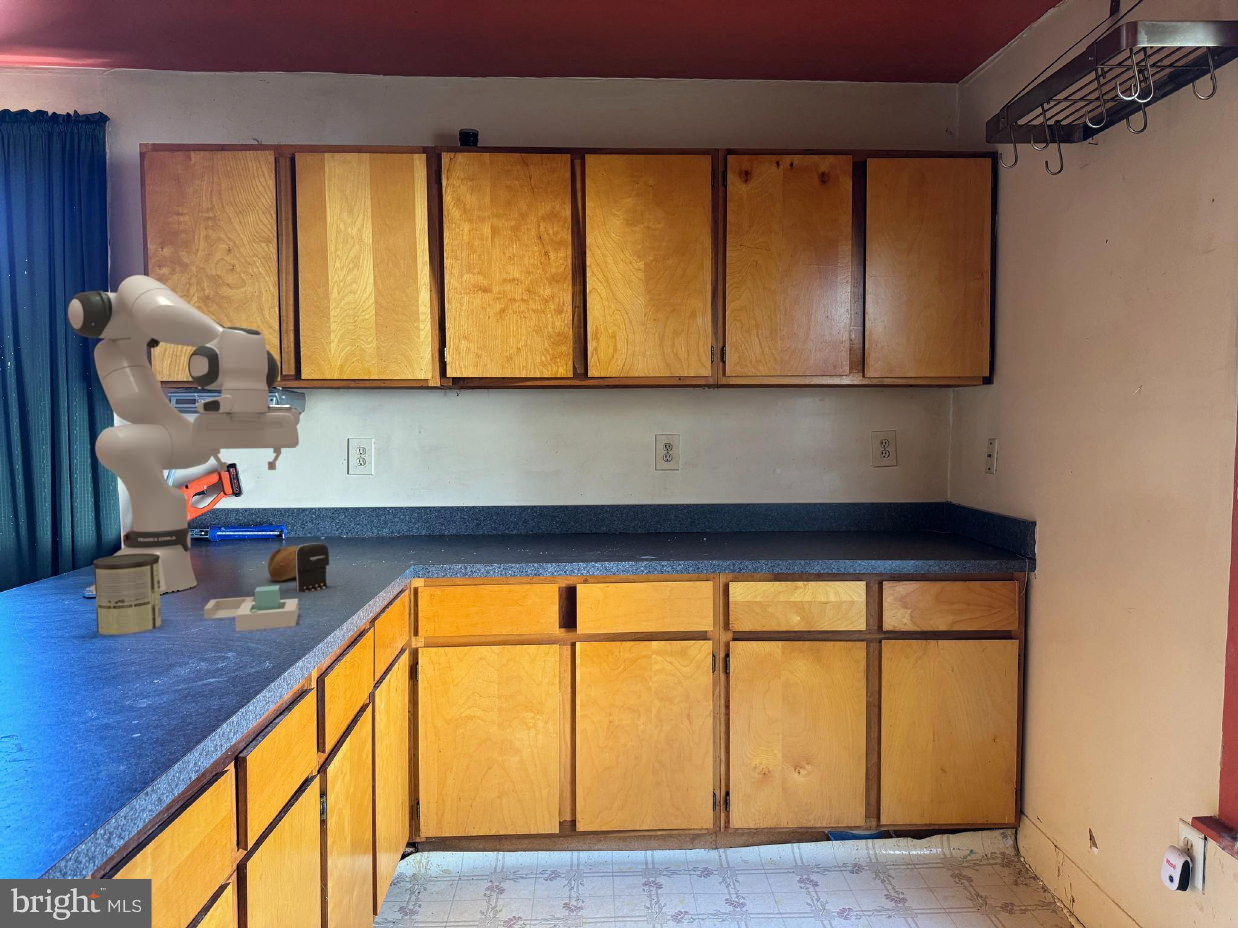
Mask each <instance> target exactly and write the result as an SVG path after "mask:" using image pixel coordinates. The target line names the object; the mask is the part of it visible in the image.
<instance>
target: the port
mask: <svg viewBox="0 0 1238 928" xmlns="http://www.w3.org/2000/svg"><path fill="white" fill-rule="evenodd" d="M235 616H236V617H235V632H244V631H245V632H246V631H247V632H248V631H257V630H268V629H270V630H271V629H280V628H281V629H282V628H291V627H292V628H293V627H296V625H297V621H298V617H299V598H291V599H290V598H289V599H280V609H274V610H261V611H258V610H257V609H255V601H254V602H247V603H242V605H241V606H240V608H239V610H238V611H237V613H236V615H235Z"/></svg>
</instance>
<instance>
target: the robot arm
mask: <svg viewBox="0 0 1238 928" xmlns="http://www.w3.org/2000/svg"><path fill="white" fill-rule="evenodd" d="M67 318H68V322H69V325H70V327H71V328H72V329H73V330H74V332H75V333H76V334H77V335H79V336H83V337H87V338H91V339H97V338H98V339H102V340H101V341H100V342H98V343H97V345H96V346H95V348H94V352H93V356H94V363H95V367H96V371H97V372H96V373H97V374H98V378H99V381H100V383H101V385H102V388H103V390H104V393H105V395H106V398H107V400H108V403H109V405H110V407H111V409H112V411H113V413H114V414H115V415H116V416H118V417H119V418H120V419H122V420H123V421H126V422H127V423H128V424H121V425H117V426H111V427H107V428H104V429H103V430H102V431H101V433H100V434H98V437H97V439H96V441H95V447H94V448H95V455H96V457H97V459H98V461H99V462H100V464H101V465H102V466H103V467H105V468H106V469H107V470H109V471H111V472H112V473H113V474H115V476H117V477H118V479H120V481H121V482H122V483H123V485H124V487H125V488H126V491H127V493H128V496H129V499H130V506H131V507H130V508H131V514H132V529H130V530H127V531H126V532H125V534H123V535H122V539H121V540H122V543H123V546H124V547H122V548H121V549H120V550H118V551H117V552H116V553H114V554H113V555H112V556H116V555H124V554H140V553H147V554H148V553H149V554H157V555H159V556H160V559H159V576H160V594H161V595H163V593H165V592H168V593H173V592H172V591H174V592H178V591H177V590H179V591H184V590H187V589H190V587H191V588H193V587H195V586H197V585H198V582H197V580H196V576H195V574H194V570H193V566H192V561H191V556H190V555H191V554H190V553H191V552H190V550H191V547H192V546H191V545H192V542H191V541H192V540H191V530H190V527H189V526H188V506H187V505H188V503H187V497H186V495H185V493H184V492H183V491H182V490H180V489H179V488H177V487H174V486H172V485H170V483H168V481H167V479H166V477H165V475H164V471H170V470H171V471H172V470H187V469H191V468H195V467H199V466H202V465H205V464H207V463H208V462H209V461H210V460H211V458H213V459H214V461H215V462H216V463H217V472H226V471H228V468H227V465H228V463H227V462H226V461H224V462H223V460H221V457H220V456H219V455H220V454H221V450H223V449H224V450H230V449H231V450H233V449H235V450H236V449H247V450H248V449H272V451H273V454H275V455H274V458H272V460H271V461H267V470H268V471H276V470H277V461H278V460H279V457H280V456H281V454H282V449H295V448H297V447H298V446H299V444H300V440H299V431H298V427H297V426H299V424H300V421H301V419H300V418H301V417H300V414H301V413H300V411H299V410H298V408H296V407H295V406H292V405H290V404H285V405H282V404H281V405H279V404H270V403H269V401H270V400H269V391H270V390H271V389H272V388H273V387H274V386H275V384H276V383H277V382H278V379H279V377H280V367H279V364H278V361H277V359H276V357H275V356H274V355H273V354H272V353H271V352H270V350H268V349H267V345H266V340H265V337H264V335H263V333H262V332H260V331H259V330H256V329H253V328H245V327H241V326H240V327H237V326H224V324H221V323H220V322H218V321H216V320H215V319H213V318H211V317H209V316H208V315H206V314H205V313H203V312H201V311H199V310H198V309H197V308H195V307H194V306H192V305H191V304H190V303H188V302H187V301H185V300H184V299H183V298H182V297H180V296H179V295H178V294H177V293H175V292H174V290H172V289H170V288H169V287H168V286H167V285H165V284H163V283H162V282H161V281H158V280H156V279H155V278H152V277H151V276H148V275H143V274H139V275H138V274H136V275H135V274H134V275H132V276H129V277H126V279H124V280H123V281H122V282H121V283H120V284H119V286H118V289H117V292H109V291H108V292H104V291H103V290H95V291H84V292H79V293H77V294H75V295H74V296H73V297H71V299H70V301H69V302H68V306H67ZM160 343H165V344H169V345H170V344H171V345H177V346H182V347H183V346H184V347H191V348H195V349H194V350H193V351H191V354H190V355H189V358H188V360H187V361H188V363H187V365H188V367H187V368H188V374H189V376H190V378H191V380H192V381H193V382H194V384H195V385H196V386H198V387H199V388H201V389H206V390H213V391H215V390H217V391H221V396H218V397H213V398H210V399H207V400H204V401H200V402H198V403H197V405H196V409H197V412H198V413H199V414H197V415H196V416H195V417H194V419H193V421H191V420H190V419H188V418H187V417H186V416H185V415H183V414H182V413H181V412H179V410H178V409H176V408H175V406H173V405H172V403H171V402H170V401H169V400H168V399H167V397H166V394H165V393H164V392H163V390H162V387H161V386H160V383H159V381H158V379H157V378H156V375H155V373H154V371H153V368H152V366H151V364H150V363H149V360H148V358H147V355H146V349H147V347H148V348H150V349H155V348H158V347H159V346H160ZM89 587H90V588H89ZM89 587H87V588H85V589H86V590H92V591H93V593H91V592H90V593H86V594H96V590H95V583H94V585H92V586H89ZM85 592H86V591H85ZM165 594H166V593H165Z"/></svg>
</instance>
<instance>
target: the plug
mask: <svg viewBox="0 0 1238 928" xmlns="http://www.w3.org/2000/svg"><path fill="white" fill-rule="evenodd" d="M280 600H281V585H267V586H257V587H256V588H255V590H254V602H255V609H257V610H258V611H261V610H274V609H280Z"/></svg>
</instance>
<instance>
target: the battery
mask: <svg viewBox="0 0 1238 928" xmlns="http://www.w3.org/2000/svg"><path fill="white" fill-rule="evenodd" d="M298 546H299V547H297V549H296V551H295V569H296V577H295V580H296V582H295V583H296V592H298V593H305V592H306V593H307V592H310V591H316V589H317V590H320V589H326V588H328V583H327V567H328V566H330V553H329V547H328V546H327V545H326V544H323V543H320V542H313V543H307V544H301V545H298Z"/></svg>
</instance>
